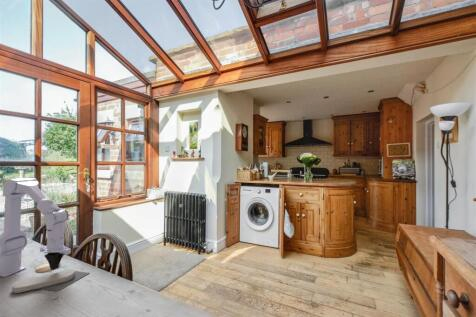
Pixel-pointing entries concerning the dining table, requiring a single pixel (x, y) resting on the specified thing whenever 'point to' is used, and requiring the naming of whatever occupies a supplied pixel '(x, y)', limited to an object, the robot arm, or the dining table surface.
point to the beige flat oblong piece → (43, 281)
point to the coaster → (44, 268)
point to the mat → (62, 285)
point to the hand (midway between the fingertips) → (54, 269)
